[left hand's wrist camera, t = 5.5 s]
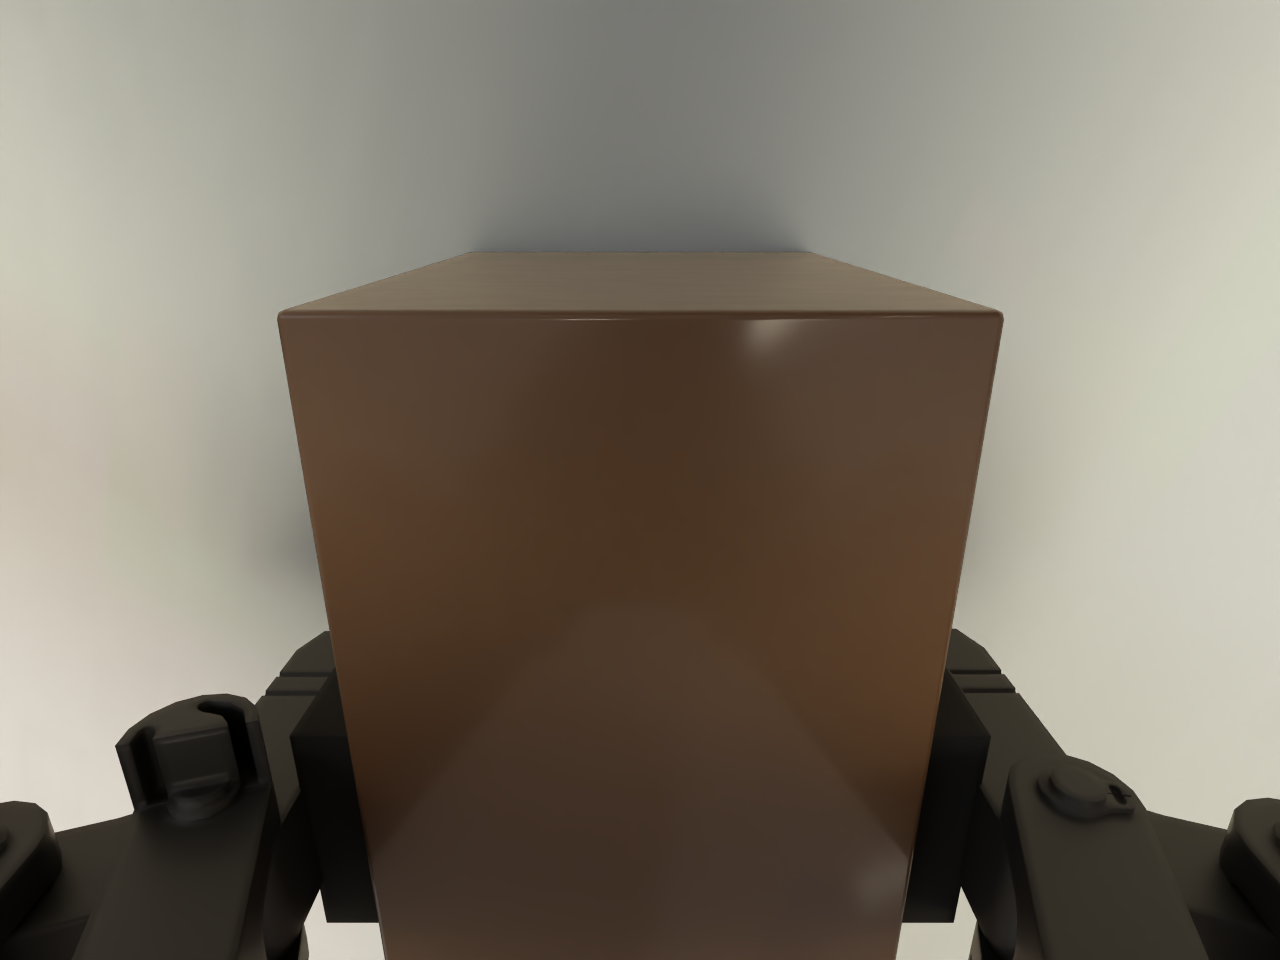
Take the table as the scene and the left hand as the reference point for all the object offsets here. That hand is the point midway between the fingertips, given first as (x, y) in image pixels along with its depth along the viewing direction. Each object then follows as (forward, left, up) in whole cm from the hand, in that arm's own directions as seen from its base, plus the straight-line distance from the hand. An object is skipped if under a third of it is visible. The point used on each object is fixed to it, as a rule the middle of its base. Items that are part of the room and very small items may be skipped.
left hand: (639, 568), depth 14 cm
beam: (+26, -6, 0) cm, 27 cm away
